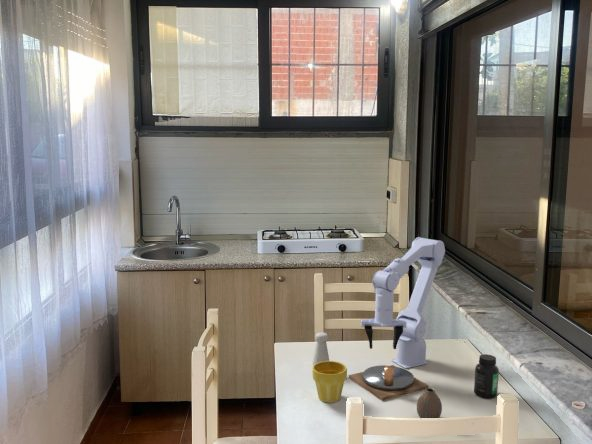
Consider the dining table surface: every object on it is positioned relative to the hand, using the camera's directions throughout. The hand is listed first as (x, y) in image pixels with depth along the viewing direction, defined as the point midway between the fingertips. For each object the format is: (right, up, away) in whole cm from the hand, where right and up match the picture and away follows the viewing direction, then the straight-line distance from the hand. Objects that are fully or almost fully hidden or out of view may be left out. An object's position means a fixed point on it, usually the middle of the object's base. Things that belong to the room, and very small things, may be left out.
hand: (382, 347), depth 195 cm
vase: (+9, -15, -27) cm, 32 cm away
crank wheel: (+1, -9, -5) cm, 10 cm away
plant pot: (-18, -12, -15) cm, 27 cm away
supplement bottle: (+30, -12, -11) cm, 34 cm away
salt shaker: (-20, -9, +4) cm, 22 cm away
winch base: (+1, -10, -5) cm, 11 cm away
